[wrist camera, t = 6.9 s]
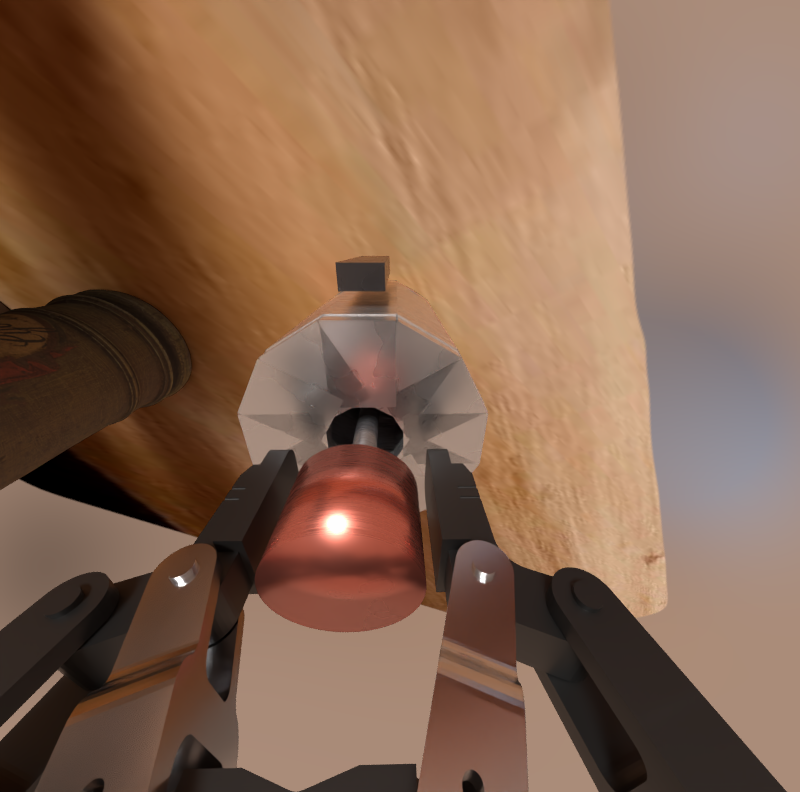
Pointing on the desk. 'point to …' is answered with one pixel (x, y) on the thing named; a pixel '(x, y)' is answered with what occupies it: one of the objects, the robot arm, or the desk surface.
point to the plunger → (347, 540)
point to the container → (80, 372)
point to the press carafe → (366, 378)
